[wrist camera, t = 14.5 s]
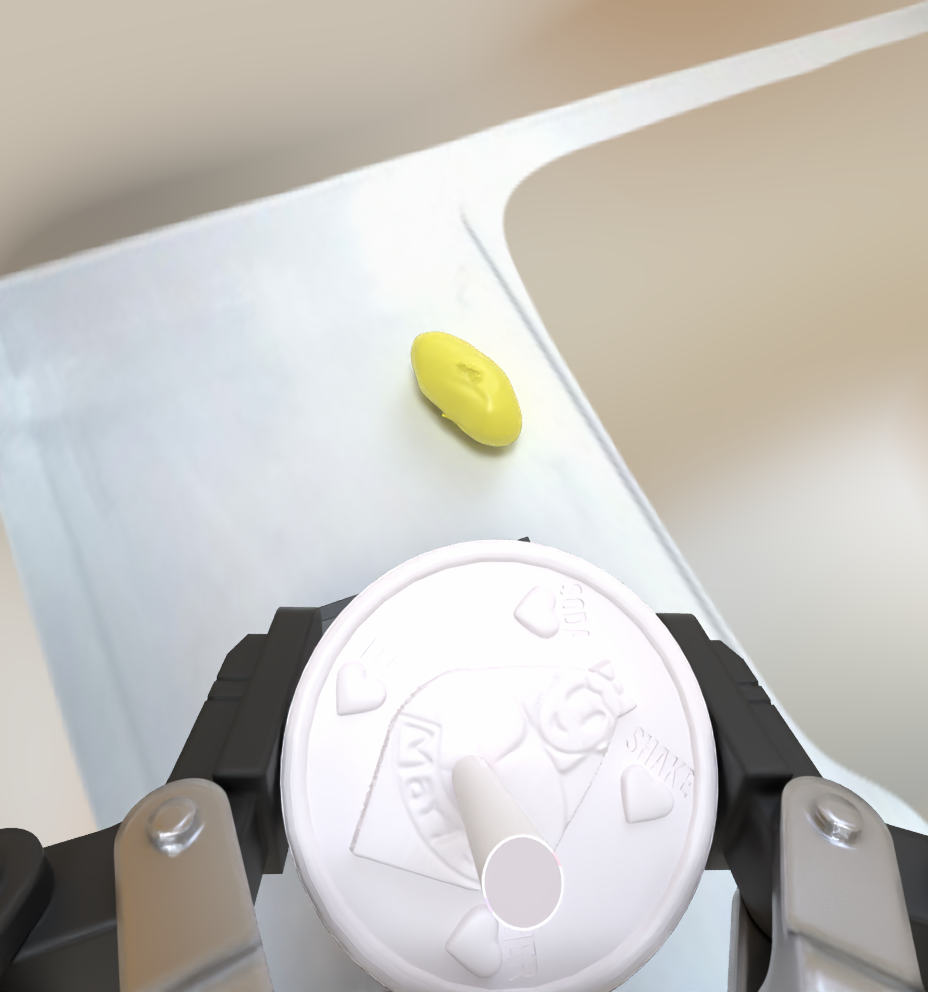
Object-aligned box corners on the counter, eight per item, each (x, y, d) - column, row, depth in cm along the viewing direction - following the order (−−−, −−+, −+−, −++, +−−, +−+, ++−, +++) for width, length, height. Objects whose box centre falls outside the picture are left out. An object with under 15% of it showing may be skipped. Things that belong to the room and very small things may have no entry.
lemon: (478, 474, 31) (485, 448, 28) (394, 371, 33) (390, 332, 29) (535, 434, 32) (549, 403, 29) (451, 335, 34) (454, 293, 30)
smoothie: (320, 669, 17) (-29, 642, 4) (500, 571, 19) (692, 303, 5) (416, 879, 16) (378, 1985, 2) (604, 756, 17) (1248, 1035, 4)
